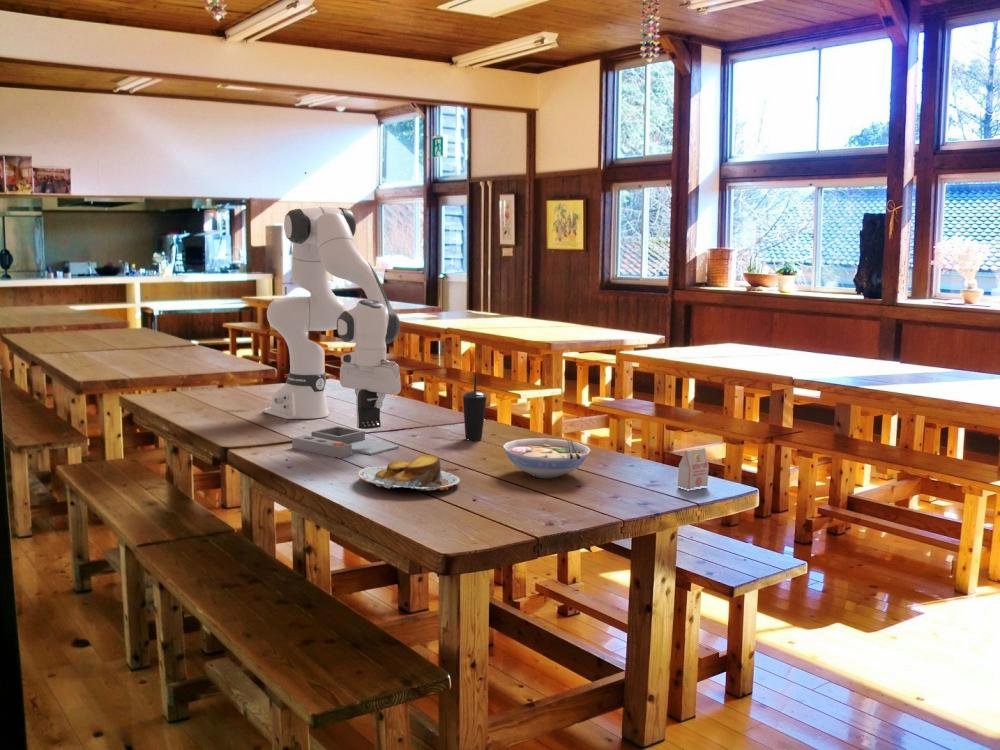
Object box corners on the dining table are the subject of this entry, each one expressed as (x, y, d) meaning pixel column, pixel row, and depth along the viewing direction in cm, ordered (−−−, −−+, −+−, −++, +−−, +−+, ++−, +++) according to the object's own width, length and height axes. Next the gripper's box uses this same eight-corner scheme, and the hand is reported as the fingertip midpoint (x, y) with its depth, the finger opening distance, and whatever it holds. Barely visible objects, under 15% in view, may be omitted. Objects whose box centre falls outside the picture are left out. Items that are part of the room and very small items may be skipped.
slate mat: (339, 448, 274) (339, 446, 274) (367, 441, 284) (367, 439, 284) (371, 455, 267) (371, 453, 267) (399, 448, 277) (399, 445, 277)
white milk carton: (677, 488, 244) (679, 449, 243) (696, 484, 248) (699, 446, 247) (687, 491, 241) (690, 452, 240) (707, 488, 245) (709, 449, 244)
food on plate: (349, 475, 247) (349, 450, 246) (442, 470, 255) (443, 446, 254) (370, 502, 223) (371, 474, 222) (473, 495, 232) (473, 469, 231)
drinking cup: (456, 440, 290) (458, 374, 287) (466, 435, 297) (468, 371, 294) (480, 443, 287) (482, 376, 284) (489, 438, 294) (491, 373, 291)
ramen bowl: (503, 462, 265) (504, 432, 264) (586, 465, 265) (588, 436, 263) (500, 485, 240) (501, 453, 239) (592, 489, 240) (593, 457, 239)
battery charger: (362, 430, 271) (361, 389, 269) (356, 428, 274) (355, 388, 273) (384, 428, 275) (383, 388, 274) (377, 426, 278) (377, 387, 277)
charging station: (283, 446, 274) (283, 433, 274) (337, 434, 293) (337, 422, 292) (339, 458, 263) (339, 445, 262) (391, 445, 281) (392, 432, 280)
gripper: (406, 360, 269) (405, 409, 271) (351, 353, 280) (351, 400, 282) (391, 362, 263) (390, 412, 265) (336, 355, 275) (336, 403, 277)
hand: (369, 406), depth 274 cm, fingers closed on battery charger, 5 cm apart
